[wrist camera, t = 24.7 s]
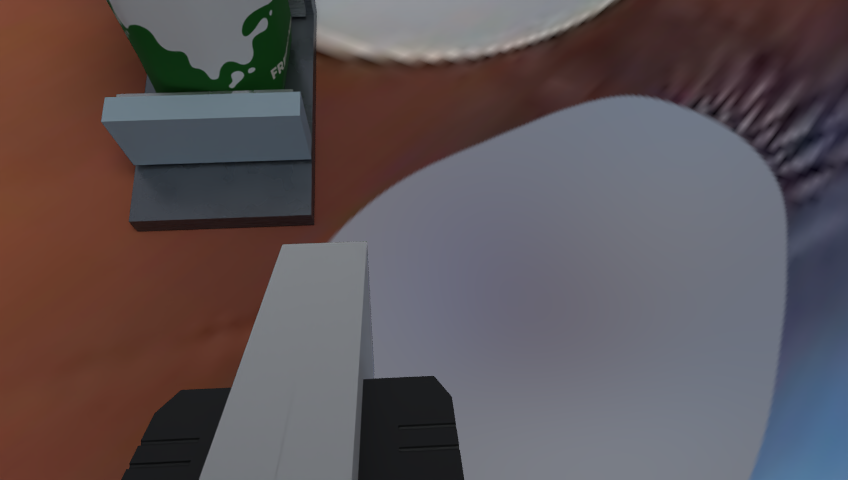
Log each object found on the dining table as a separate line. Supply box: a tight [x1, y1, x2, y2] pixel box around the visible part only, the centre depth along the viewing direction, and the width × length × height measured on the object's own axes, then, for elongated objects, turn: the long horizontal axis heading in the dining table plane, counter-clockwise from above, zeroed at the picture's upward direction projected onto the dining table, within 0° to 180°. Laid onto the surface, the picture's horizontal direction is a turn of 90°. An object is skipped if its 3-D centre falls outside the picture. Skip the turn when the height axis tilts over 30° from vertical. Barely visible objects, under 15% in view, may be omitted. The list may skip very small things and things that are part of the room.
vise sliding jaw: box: [101, 89, 312, 165], centre depth 42 cm, size 2×11×5 cm, turn 93°
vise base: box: [129, 0, 317, 231], centre depth 44 cm, size 17×11×6 cm, turn 3°
